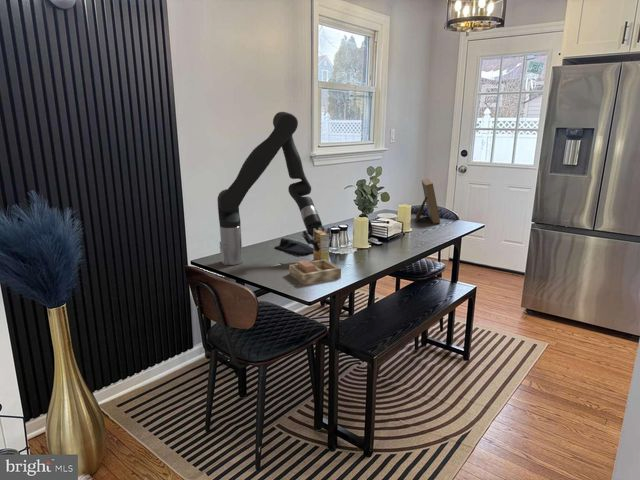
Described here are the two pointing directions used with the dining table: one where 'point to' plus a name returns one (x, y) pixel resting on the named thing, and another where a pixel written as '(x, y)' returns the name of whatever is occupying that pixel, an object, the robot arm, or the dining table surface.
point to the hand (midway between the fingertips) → (323, 249)
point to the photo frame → (429, 202)
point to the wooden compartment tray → (316, 272)
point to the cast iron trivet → (294, 247)
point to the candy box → (321, 245)
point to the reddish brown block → (306, 266)
